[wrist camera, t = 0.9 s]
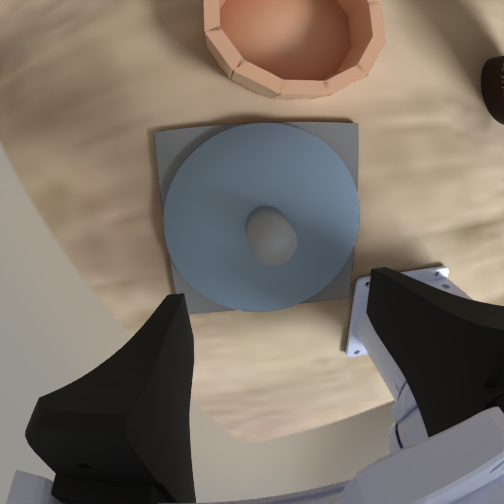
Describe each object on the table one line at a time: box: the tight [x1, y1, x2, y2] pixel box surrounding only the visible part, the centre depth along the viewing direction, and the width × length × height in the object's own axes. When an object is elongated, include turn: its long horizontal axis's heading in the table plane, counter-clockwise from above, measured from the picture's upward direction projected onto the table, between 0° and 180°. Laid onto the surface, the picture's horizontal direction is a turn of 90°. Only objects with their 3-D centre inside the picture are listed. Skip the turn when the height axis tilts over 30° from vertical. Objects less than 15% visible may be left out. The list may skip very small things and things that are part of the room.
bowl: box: [204, 0, 385, 99], centre depth 15 cm, size 10×10×4 cm
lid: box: [163, 123, 360, 312], centre depth 19 cm, size 13×13×4 cm
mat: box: [154, 122, 358, 314], centre depth 21 cm, size 13×13×1 cm
